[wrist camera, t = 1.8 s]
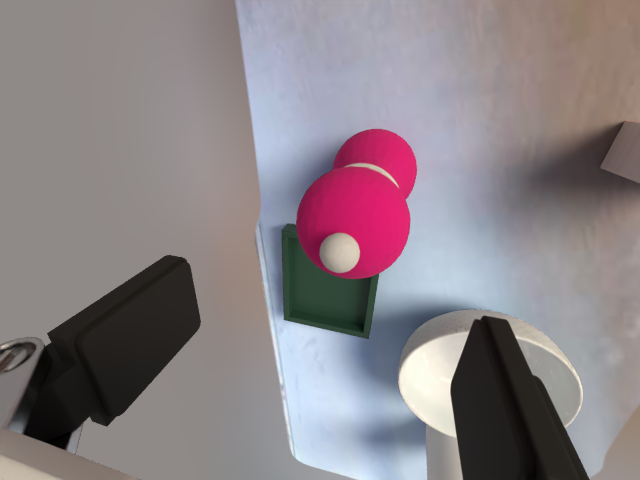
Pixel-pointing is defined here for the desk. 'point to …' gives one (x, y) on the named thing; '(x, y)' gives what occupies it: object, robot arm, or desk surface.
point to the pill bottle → (442, 456)
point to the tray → (324, 293)
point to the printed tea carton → (625, 153)
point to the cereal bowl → (443, 356)
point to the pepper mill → (359, 207)
